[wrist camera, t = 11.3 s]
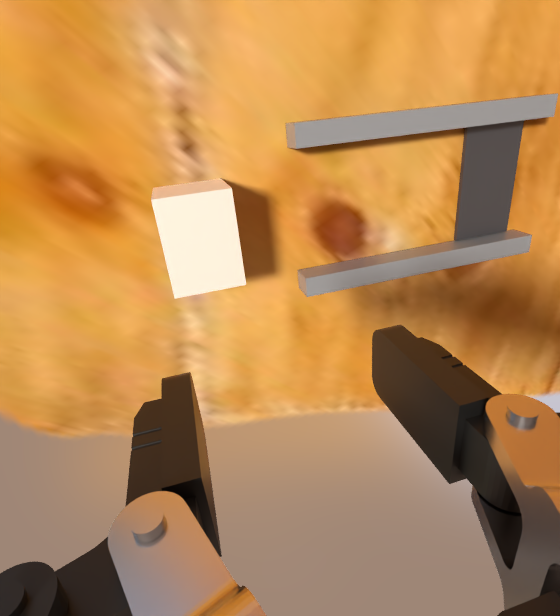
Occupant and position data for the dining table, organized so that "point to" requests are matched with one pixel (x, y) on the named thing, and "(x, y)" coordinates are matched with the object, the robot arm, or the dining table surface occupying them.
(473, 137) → the channel
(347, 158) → the dining table surface
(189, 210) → the block
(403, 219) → the dining table surface
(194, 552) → the robot arm
